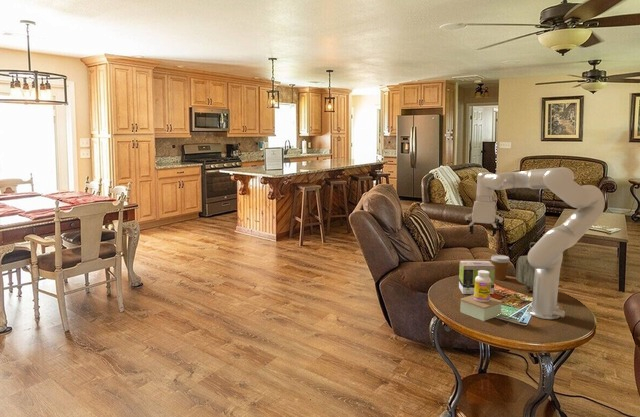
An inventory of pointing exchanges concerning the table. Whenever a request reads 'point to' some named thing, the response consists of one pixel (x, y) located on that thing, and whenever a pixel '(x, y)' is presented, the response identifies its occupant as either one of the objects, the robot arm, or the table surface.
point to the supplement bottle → (482, 286)
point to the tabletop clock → (525, 271)
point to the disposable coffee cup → (500, 266)
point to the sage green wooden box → (480, 308)
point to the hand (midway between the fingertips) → (482, 234)
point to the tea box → (474, 274)
